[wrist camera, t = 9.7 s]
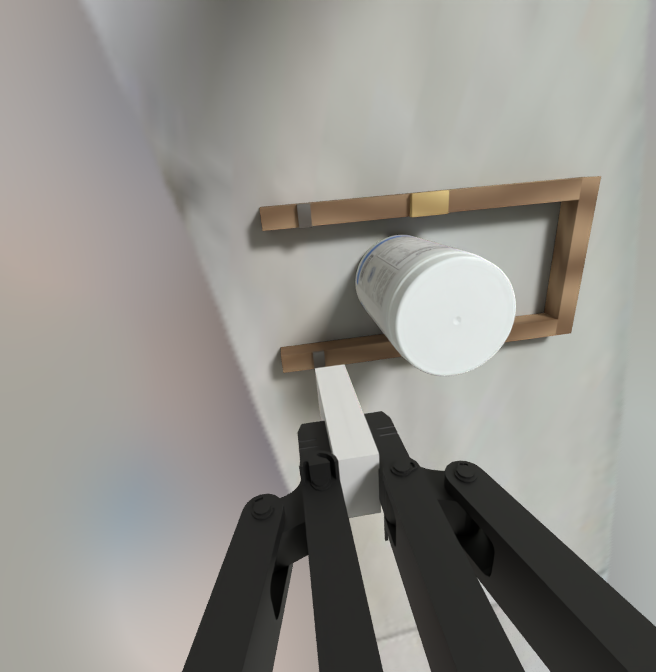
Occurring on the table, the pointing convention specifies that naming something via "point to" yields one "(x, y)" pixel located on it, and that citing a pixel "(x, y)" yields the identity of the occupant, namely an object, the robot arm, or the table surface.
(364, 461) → the robot arm
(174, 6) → the table surface
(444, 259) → the supplement tub
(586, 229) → the beam track
